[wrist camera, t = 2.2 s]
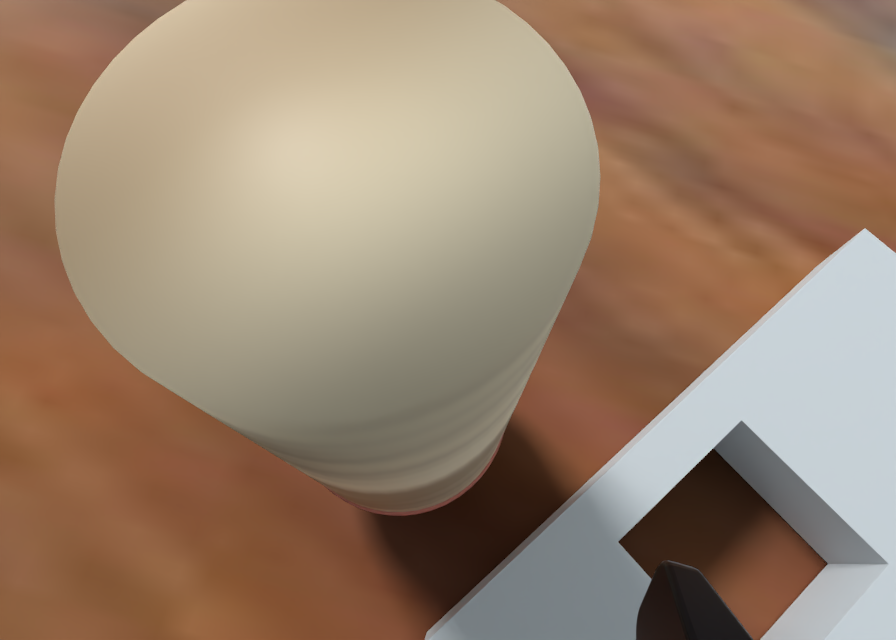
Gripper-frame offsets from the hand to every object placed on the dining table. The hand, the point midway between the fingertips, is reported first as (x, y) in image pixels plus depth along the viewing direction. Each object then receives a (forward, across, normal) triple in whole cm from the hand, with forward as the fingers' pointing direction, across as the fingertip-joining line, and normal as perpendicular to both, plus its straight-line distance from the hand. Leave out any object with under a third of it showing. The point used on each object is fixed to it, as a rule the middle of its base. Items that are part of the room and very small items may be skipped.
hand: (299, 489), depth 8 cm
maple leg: (+9, 0, +5) cm, 10 cm away
